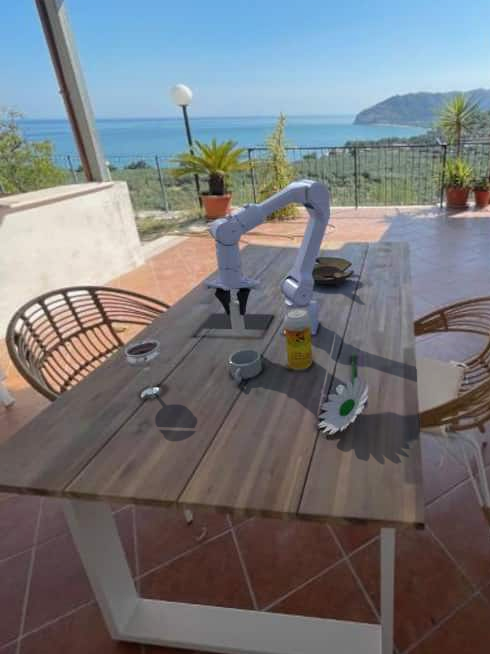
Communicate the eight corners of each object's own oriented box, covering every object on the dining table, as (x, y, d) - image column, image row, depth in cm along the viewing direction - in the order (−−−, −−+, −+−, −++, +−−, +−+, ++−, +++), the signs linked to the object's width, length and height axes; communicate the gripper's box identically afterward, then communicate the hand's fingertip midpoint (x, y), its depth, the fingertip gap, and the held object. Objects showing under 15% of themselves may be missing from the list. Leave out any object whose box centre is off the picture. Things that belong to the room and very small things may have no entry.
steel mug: (237, 362, 101) (235, 348, 99) (265, 362, 100) (263, 348, 99) (222, 387, 91) (219, 372, 89) (253, 388, 91) (251, 373, 89)
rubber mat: (273, 315, 125) (273, 314, 125) (261, 338, 112) (260, 336, 112) (212, 314, 126) (212, 313, 126) (193, 336, 113) (193, 335, 113)
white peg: (246, 326, 107) (242, 300, 104) (242, 332, 104) (239, 305, 101) (234, 326, 107) (231, 300, 104) (230, 332, 104) (226, 305, 101)
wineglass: (147, 406, 85) (135, 359, 81) (130, 395, 89) (118, 350, 84) (175, 389, 91) (165, 344, 86) (158, 379, 94) (148, 336, 90)
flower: (367, 336, 101) (366, 402, 72) (378, 352, 102) (381, 424, 73) (325, 361, 103) (307, 435, 74) (337, 376, 104) (324, 456, 75)
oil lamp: (352, 267, 167) (352, 250, 164) (356, 295, 139) (356, 275, 136) (300, 268, 166) (298, 251, 163) (293, 297, 138) (292, 277, 135)
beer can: (292, 375, 95) (288, 320, 90) (285, 362, 100) (280, 310, 95) (315, 368, 98) (312, 315, 93) (307, 356, 103) (304, 305, 98)
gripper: (195, 271, 96) (203, 320, 100) (253, 271, 95) (258, 320, 100) (206, 261, 102) (214, 308, 107) (261, 262, 102) (266, 308, 106)
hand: (236, 313), depth 104 cm, fingers closed on white peg, 3 cm apart
